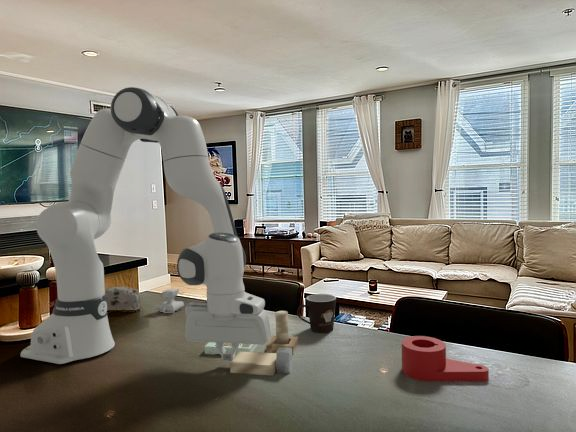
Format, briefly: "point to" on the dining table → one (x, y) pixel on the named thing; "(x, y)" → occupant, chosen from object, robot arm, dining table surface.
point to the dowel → (282, 327)
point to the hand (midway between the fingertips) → (228, 360)
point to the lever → (436, 362)
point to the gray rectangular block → (284, 359)
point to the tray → (228, 348)
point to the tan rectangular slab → (254, 363)
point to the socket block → (273, 347)
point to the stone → (122, 298)
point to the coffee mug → (320, 312)
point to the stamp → (170, 301)
